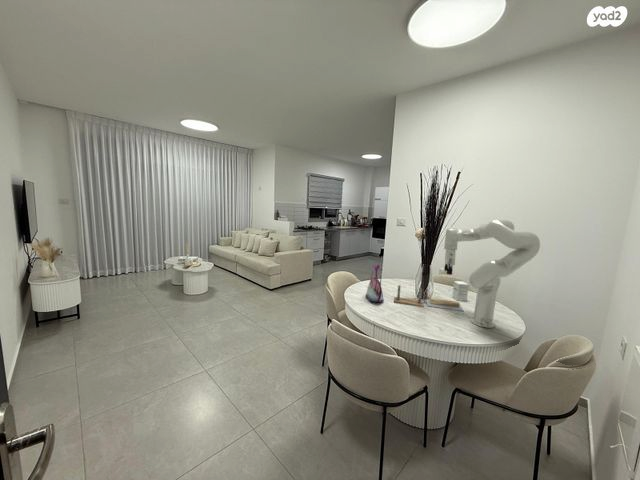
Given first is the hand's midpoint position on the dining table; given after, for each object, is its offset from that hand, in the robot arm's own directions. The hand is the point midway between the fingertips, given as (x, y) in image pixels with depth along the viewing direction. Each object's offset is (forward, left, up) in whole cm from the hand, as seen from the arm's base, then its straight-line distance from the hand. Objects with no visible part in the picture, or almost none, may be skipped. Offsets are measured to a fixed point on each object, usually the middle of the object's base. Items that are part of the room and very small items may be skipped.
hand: (448, 272), depth 178 cm
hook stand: (-3, +23, -23) cm, 33 cm away
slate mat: (0, 0, -23) cm, 23 cm away
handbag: (-7, +46, -24) cm, 52 cm away
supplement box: (+19, -13, -24) cm, 33 cm away
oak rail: (0, 0, -23) cm, 23 cm away
